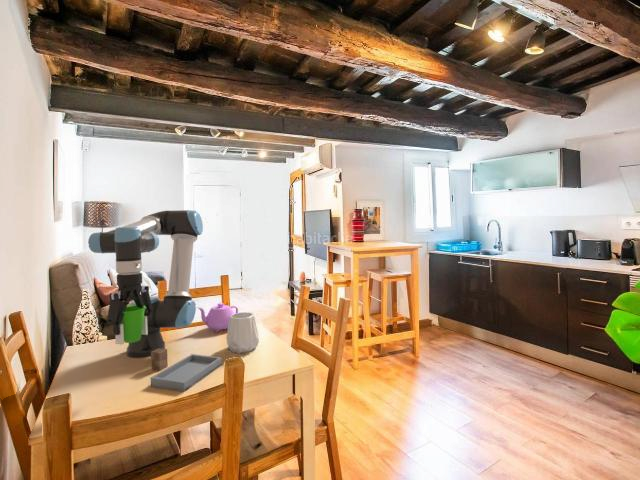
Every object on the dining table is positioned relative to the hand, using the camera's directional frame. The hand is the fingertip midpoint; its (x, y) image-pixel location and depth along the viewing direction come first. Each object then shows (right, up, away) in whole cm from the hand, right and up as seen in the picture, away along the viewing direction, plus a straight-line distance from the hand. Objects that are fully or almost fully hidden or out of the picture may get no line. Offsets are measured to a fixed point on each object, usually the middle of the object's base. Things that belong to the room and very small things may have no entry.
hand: (132, 338), depth 115 cm
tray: (+15, -17, +11) cm, 25 cm away
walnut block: (+1, -16, +17) cm, 24 cm away
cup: (0, -1, 0) cm, 1 cm away
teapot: (+10, -14, +65) cm, 67 cm away
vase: (+29, -15, +37) cm, 49 cm away
